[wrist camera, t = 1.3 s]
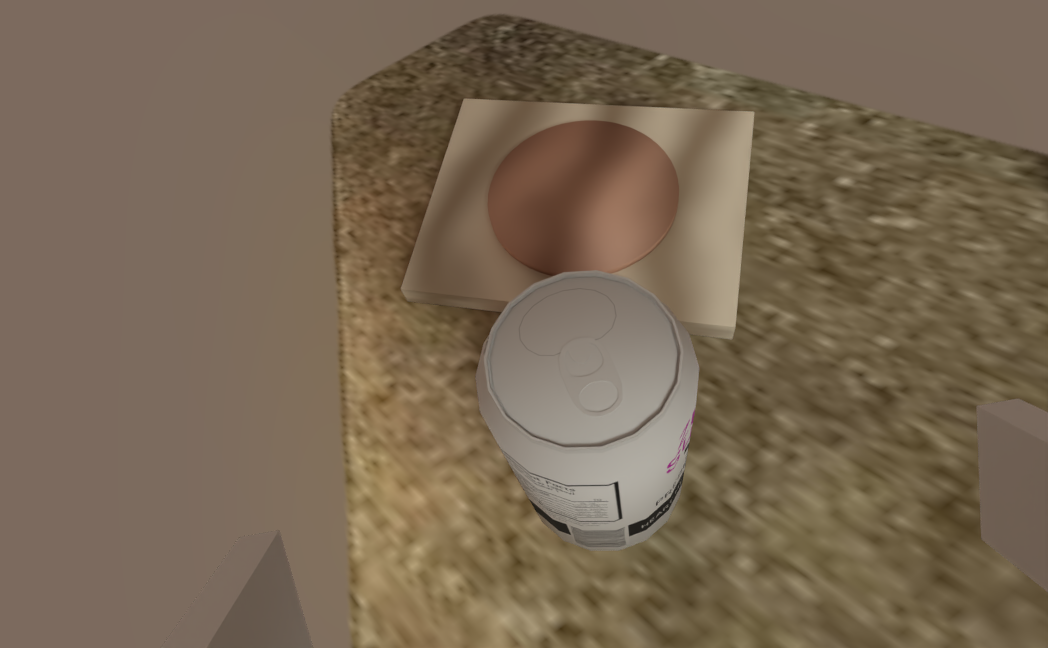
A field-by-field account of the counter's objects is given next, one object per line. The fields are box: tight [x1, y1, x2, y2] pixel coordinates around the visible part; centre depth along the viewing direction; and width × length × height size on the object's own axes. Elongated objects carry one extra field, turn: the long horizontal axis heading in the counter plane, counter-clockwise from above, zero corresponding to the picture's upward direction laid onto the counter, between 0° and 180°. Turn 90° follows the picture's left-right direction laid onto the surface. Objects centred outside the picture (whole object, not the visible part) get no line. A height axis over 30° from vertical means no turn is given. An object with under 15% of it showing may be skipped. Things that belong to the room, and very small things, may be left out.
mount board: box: [401, 99, 754, 339], centre depth 45 cm, size 20×16×2 cm
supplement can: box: [475, 270, 699, 550], centre depth 31 cm, size 8×8×15 cm
